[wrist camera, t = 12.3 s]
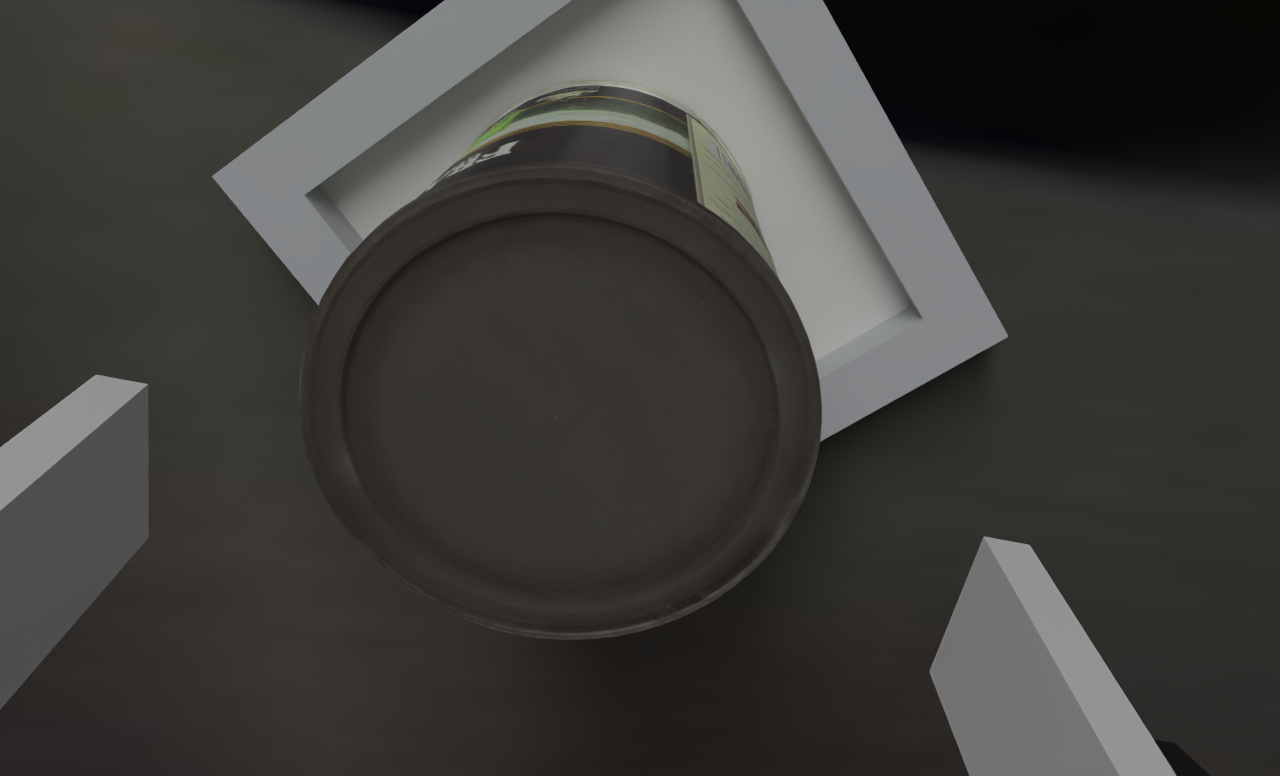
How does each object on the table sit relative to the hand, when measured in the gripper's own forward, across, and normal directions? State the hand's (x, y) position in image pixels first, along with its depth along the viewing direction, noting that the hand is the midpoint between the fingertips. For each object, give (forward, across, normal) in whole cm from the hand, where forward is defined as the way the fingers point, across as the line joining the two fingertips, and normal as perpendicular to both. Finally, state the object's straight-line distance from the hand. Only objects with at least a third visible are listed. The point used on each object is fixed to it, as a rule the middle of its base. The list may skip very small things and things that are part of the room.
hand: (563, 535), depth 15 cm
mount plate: (+19, 0, 0) cm, 19 cm away
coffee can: (+18, 0, 0) cm, 18 cm away
